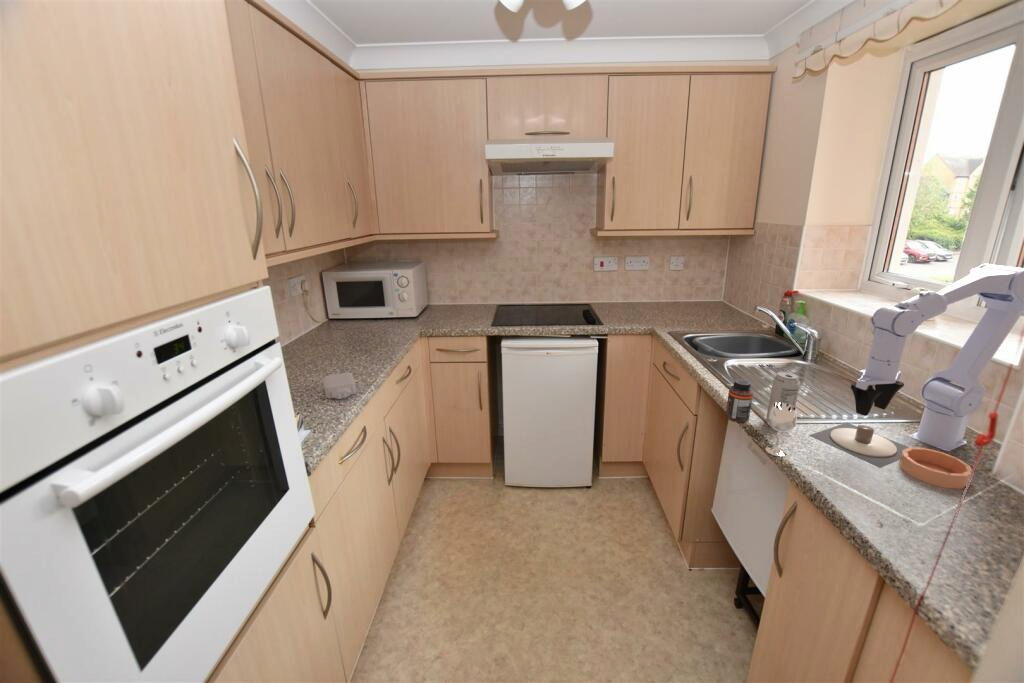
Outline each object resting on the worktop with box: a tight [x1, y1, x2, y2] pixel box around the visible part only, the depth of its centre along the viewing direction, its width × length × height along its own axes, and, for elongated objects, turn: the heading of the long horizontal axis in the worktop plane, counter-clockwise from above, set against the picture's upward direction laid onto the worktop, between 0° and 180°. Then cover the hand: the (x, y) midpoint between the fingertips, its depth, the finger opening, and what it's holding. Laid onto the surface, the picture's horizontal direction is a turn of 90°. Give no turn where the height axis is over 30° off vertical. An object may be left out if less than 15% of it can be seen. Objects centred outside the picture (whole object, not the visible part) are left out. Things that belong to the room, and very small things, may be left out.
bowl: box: [898, 446, 973, 490], centre depth 96 cm, size 11×11×4 cm
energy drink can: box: [765, 371, 801, 427], centre depth 116 cm, size 6×6×15 cm
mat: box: [808, 422, 909, 469], centre depth 109 cm, size 16×16×1 cm
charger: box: [322, 372, 357, 400], centre depth 141 cm, size 5×9×15 cm
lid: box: [830, 424, 897, 457], centre depth 108 cm, size 13×13×4 cm
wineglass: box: [765, 402, 798, 457], centre depth 104 cm, size 6×6×12 cm
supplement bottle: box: [725, 378, 754, 423], centre depth 121 cm, size 6×6×11 cm
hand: (870, 410), depth 106 cm, fingers open, 7 cm apart
